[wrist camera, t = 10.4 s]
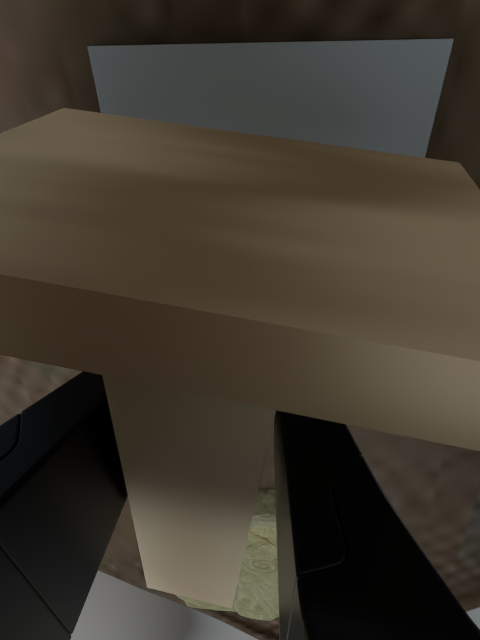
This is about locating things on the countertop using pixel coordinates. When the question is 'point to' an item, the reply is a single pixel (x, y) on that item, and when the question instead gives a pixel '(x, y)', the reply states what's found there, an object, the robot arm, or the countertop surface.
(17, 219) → the wooden t-shaped block
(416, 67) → the tool mat
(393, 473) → the countertop surface
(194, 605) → the decorative tile
